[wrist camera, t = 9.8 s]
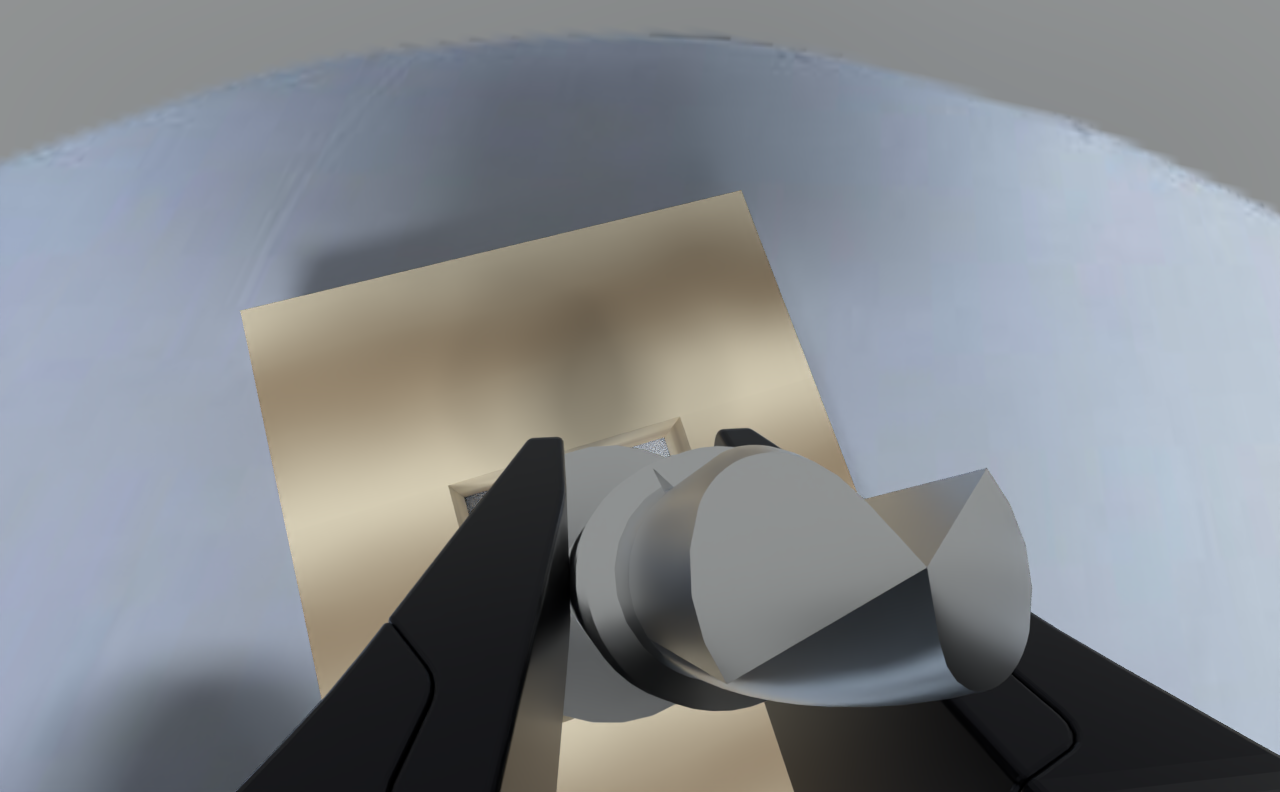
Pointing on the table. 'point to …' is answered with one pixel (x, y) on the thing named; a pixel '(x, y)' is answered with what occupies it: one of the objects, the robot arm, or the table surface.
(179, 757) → the table surface
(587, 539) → the screw
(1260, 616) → the table surface
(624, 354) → the holder board
